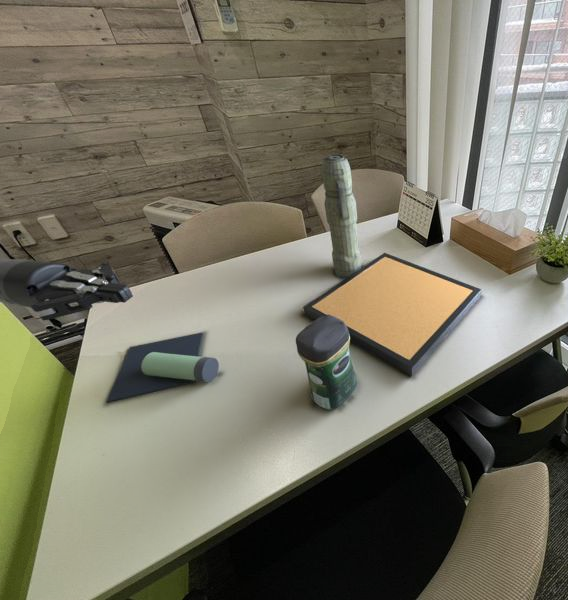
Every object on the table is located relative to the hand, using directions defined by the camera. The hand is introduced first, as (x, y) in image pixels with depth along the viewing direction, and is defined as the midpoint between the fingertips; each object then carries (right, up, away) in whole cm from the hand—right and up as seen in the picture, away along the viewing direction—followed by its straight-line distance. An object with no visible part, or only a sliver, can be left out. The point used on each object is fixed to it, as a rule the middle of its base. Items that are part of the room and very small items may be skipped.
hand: (126, 294), depth 50 cm
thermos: (+25, +9, +56) cm, 62 cm away
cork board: (+41, -3, +42) cm, 58 cm away
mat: (-13, -16, +25) cm, 33 cm away
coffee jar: (+28, -20, +19) cm, 40 cm away
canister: (-13, -15, +21) cm, 29 cm away
